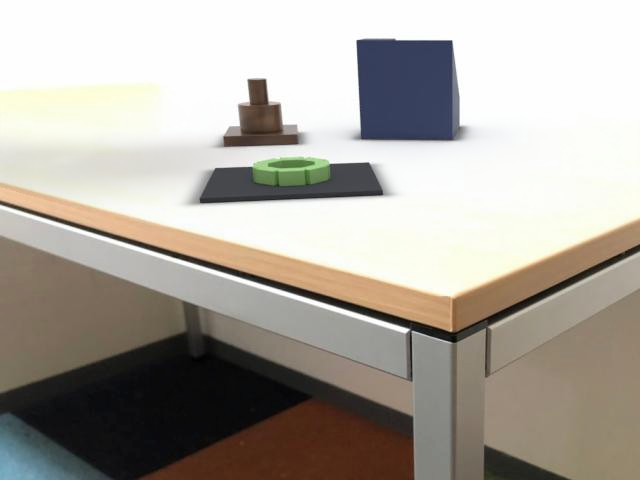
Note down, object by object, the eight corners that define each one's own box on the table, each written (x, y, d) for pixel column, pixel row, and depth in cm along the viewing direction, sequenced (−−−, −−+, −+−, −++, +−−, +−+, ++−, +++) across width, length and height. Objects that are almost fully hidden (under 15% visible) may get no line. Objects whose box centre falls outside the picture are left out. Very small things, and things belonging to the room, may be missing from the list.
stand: (224, 146, 92) (216, 82, 89) (230, 135, 100) (223, 76, 97) (298, 143, 94) (292, 81, 91) (297, 133, 102) (293, 75, 99)
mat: (200, 202, 65) (199, 198, 65) (215, 171, 78) (215, 167, 77) (383, 194, 68) (382, 190, 67) (369, 165, 80) (369, 162, 80)
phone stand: (459, 126, 107) (459, 37, 102) (452, 139, 96) (452, 40, 91) (377, 125, 108) (373, 37, 103) (361, 138, 97) (356, 40, 92)
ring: (252, 187, 69) (251, 172, 68) (256, 172, 75) (255, 158, 74) (331, 184, 70) (330, 169, 69) (328, 169, 76) (327, 155, 76)
